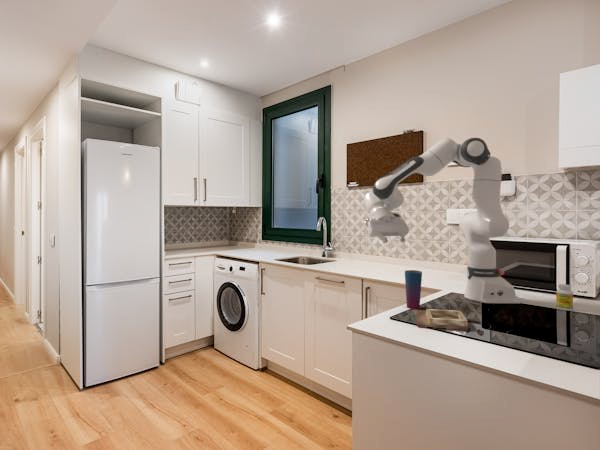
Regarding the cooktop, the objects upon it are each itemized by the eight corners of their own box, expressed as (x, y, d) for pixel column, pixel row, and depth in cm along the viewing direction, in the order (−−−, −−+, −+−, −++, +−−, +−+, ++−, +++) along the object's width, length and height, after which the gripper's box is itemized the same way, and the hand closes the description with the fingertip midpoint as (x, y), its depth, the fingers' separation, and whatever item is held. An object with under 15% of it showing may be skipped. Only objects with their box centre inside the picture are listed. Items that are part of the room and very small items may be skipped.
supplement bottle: (571, 307, 143) (572, 284, 142) (574, 311, 138) (574, 287, 138) (555, 306, 145) (555, 283, 145) (557, 309, 141) (557, 285, 140)
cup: (408, 304, 150) (408, 269, 150) (424, 306, 146) (424, 271, 145) (401, 307, 145) (402, 271, 144) (418, 310, 141) (418, 273, 140)
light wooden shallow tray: (457, 314, 135) (458, 307, 135) (468, 330, 117) (468, 321, 117) (414, 312, 139) (414, 304, 139) (417, 327, 121) (417, 318, 121)
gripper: (365, 214, 159) (377, 237, 150) (403, 214, 166) (416, 236, 157) (360, 224, 163) (371, 247, 154) (397, 223, 170) (410, 245, 162)
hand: (394, 241), depth 156 cm, fingers open, 8 cm apart
